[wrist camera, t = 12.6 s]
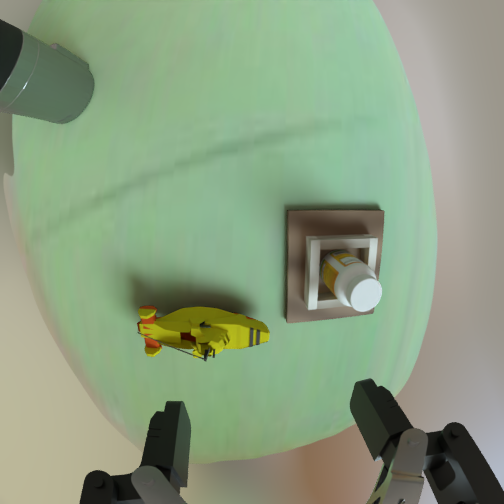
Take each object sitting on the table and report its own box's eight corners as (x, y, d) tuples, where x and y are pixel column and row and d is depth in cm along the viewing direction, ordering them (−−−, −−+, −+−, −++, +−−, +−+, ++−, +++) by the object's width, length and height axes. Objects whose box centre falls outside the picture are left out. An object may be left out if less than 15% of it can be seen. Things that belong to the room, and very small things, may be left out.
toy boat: (142, 295, 37) (117, 330, 27) (266, 299, 38) (277, 337, 29) (147, 332, 39) (128, 373, 29) (264, 336, 40) (272, 380, 30)
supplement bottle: (334, 292, 37) (361, 326, 28) (310, 268, 36) (334, 298, 27) (360, 266, 37) (395, 293, 27) (339, 240, 35) (371, 261, 26)
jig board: (287, 210, 35) (292, 213, 32) (381, 209, 36) (393, 213, 32) (285, 320, 39) (290, 332, 36) (370, 310, 40) (380, 320, 37)
